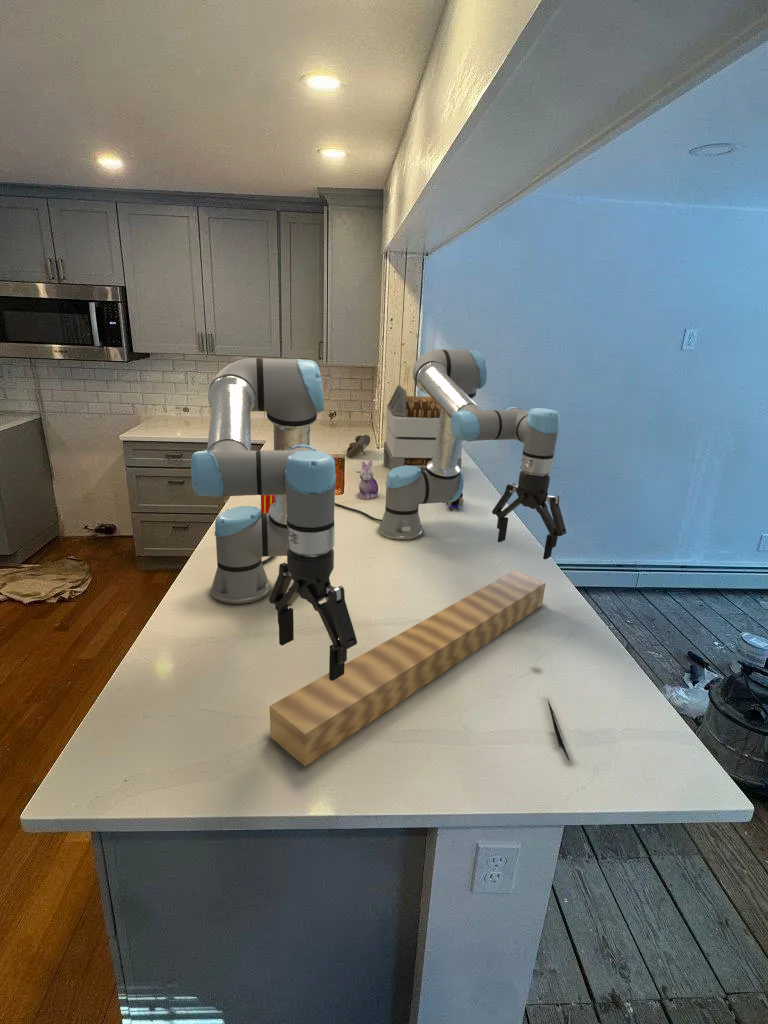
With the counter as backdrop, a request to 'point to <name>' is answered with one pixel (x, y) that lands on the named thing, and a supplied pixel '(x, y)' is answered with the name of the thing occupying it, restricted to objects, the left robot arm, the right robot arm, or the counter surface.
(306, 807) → the counter surface
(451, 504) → the figurine character
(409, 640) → the long beam
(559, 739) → the feather
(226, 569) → the left robot arm
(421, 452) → the grey slatted crate
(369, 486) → the figurine
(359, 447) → the fossil
